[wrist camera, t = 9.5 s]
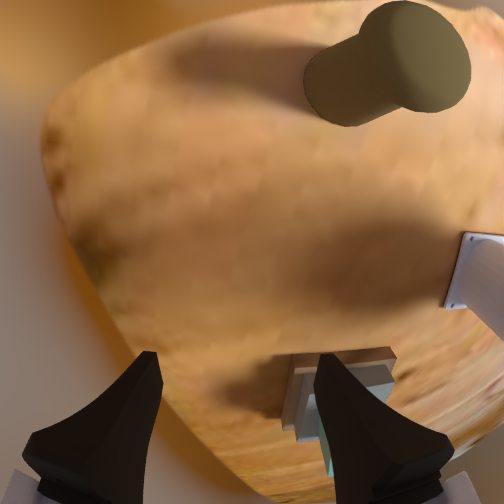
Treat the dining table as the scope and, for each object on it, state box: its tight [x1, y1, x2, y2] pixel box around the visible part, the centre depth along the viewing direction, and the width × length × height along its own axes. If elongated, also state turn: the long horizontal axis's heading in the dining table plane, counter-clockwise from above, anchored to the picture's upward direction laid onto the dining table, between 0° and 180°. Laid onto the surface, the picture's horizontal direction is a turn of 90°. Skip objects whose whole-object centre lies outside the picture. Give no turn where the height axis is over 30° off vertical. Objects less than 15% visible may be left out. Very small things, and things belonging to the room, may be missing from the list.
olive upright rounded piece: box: [303, 0, 471, 127], centre depth 12 cm, size 6×6×11 cm
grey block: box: [294, 364, 395, 443], centre depth 24 cm, size 8×8×2 cm
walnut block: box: [281, 346, 397, 431], centre depth 26 cm, size 10×10×2 cm
